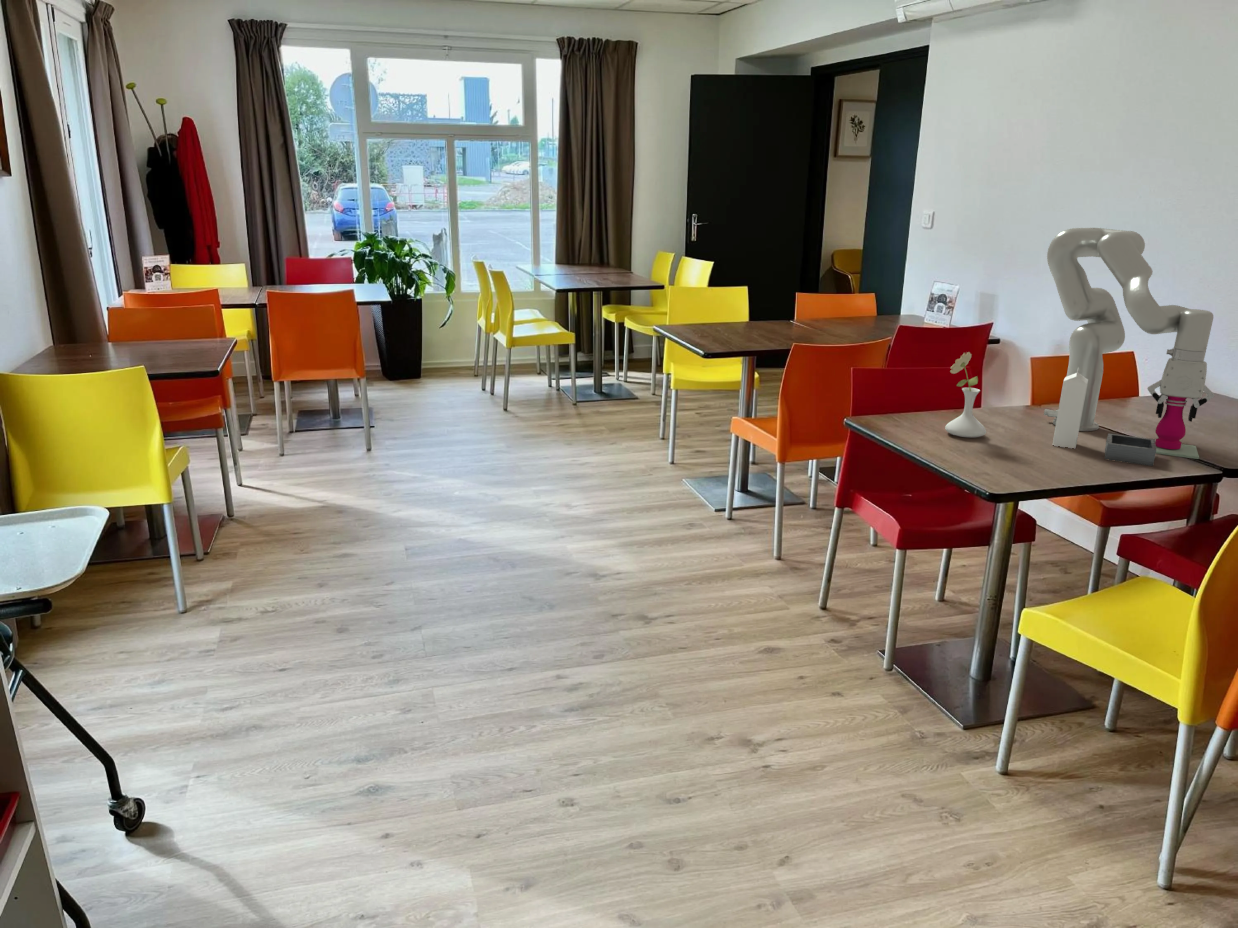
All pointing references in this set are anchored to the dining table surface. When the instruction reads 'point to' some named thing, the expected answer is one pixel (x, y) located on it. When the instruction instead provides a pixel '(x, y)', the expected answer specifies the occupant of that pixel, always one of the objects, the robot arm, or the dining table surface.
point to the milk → (1070, 411)
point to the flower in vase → (966, 405)
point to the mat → (1180, 451)
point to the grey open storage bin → (1130, 449)
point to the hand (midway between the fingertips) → (1174, 418)
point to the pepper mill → (1171, 424)
